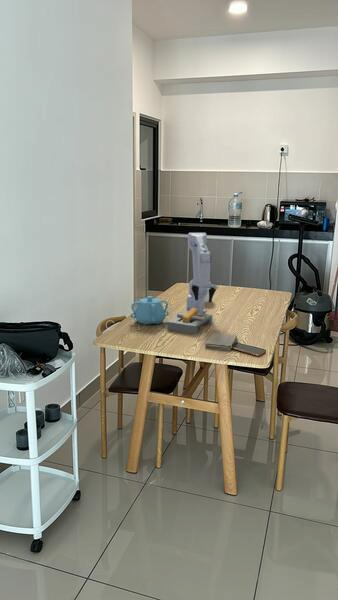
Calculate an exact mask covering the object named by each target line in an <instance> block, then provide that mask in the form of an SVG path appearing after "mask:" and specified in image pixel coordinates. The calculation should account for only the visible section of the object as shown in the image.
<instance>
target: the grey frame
mask: <svg viewBox="0 0 338 600" xmlns="http://www.w3.org/2000/svg"><path fill="white" fill-rule="evenodd" d="M187 312H188V311H186V310H185V311H183V312H181V313H179V312H178V313H177V314H176V316H175V317H173V318H171V319H170V320H168V321H167V322H166V324H167V325H166V331H167V330H169V331H172V332H180V333H187V334H191V335H196V334H197V333H198V332H199V330H198V329H199V327H200V326H201V325H203V324H209V325H211V324H212V323H213V314H209V313H198V316H192V319H190V323H187V322H183V316H184V315H185V314H186V313H187ZM211 322H212V323H211Z"/></svg>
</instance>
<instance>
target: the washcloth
mask: <svg viewBox="0 0 338 600" xmlns="http://www.w3.org/2000/svg"><path fill="white" fill-rule="evenodd" d="M237 339H238V335H237V334H231V333H230V334H224V333H220V332H219V333H217V332H215V333H214V332H213V333H212V334H211V335H210V336H209V338H208V339H207V340H206V342H205V343H204V348H205V349H211V350H217V351H218V350H219V351H226V352H227V351H228V352H229V351H231V350H232V349H231V346H232V344H234V343H235V344H236V342H237ZM235 344H234V345H235Z"/></svg>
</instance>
